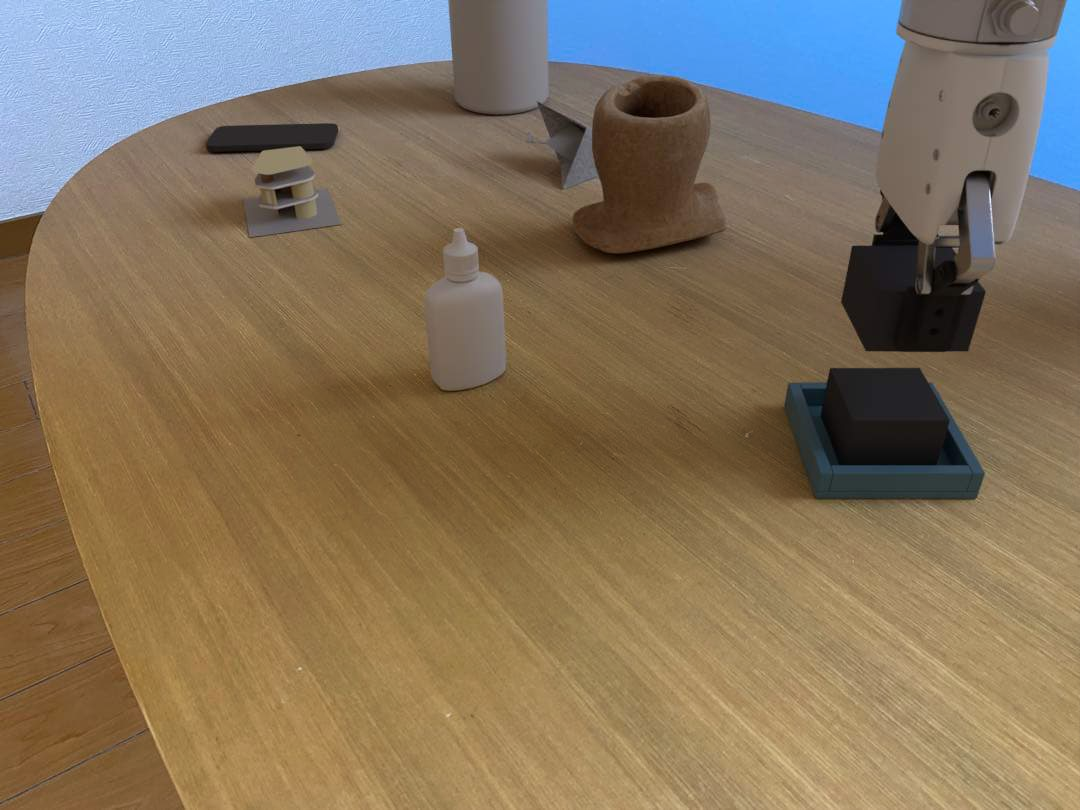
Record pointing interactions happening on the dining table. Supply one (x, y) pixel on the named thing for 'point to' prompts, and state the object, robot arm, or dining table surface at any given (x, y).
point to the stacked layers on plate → (287, 195)
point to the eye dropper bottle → (465, 321)
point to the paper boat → (569, 146)
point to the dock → (830, 480)
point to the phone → (272, 137)
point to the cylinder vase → (499, 54)
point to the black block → (894, 294)
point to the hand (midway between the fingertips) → (904, 317)
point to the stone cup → (650, 167)
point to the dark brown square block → (883, 417)
